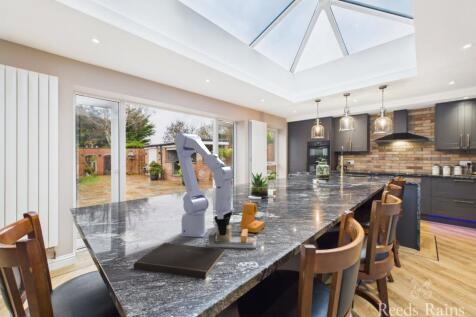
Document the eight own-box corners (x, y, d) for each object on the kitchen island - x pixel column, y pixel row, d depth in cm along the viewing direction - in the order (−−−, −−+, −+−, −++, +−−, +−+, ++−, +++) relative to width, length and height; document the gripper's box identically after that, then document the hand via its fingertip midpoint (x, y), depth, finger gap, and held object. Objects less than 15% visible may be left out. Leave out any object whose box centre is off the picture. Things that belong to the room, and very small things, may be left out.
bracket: (255, 234, 95) (255, 206, 95) (240, 232, 98) (240, 204, 98) (264, 227, 104) (264, 201, 104) (250, 225, 108) (250, 200, 107)
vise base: (206, 246, 82) (206, 235, 82) (213, 236, 92) (212, 227, 92) (255, 248, 80) (255, 237, 80) (256, 238, 90) (256, 228, 90)
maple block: (216, 241, 85) (216, 227, 85) (218, 237, 89) (218, 224, 89) (229, 241, 84) (229, 228, 84) (231, 237, 88) (231, 225, 88)
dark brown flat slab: (164, 249, 82) (164, 242, 82) (224, 255, 76) (224, 248, 76) (133, 270, 66) (133, 262, 66) (205, 281, 60) (205, 272, 60)
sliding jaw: (240, 243, 82) (240, 235, 82) (242, 235, 90) (242, 228, 90) (246, 243, 81) (246, 236, 81) (247, 236, 89) (247, 229, 89)
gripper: (231, 201, 79) (231, 239, 79) (236, 194, 93) (236, 227, 93) (211, 201, 79) (211, 239, 80) (219, 194, 94) (219, 226, 94)
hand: (223, 232), depth 86 cm, fingers open, 5 cm apart
